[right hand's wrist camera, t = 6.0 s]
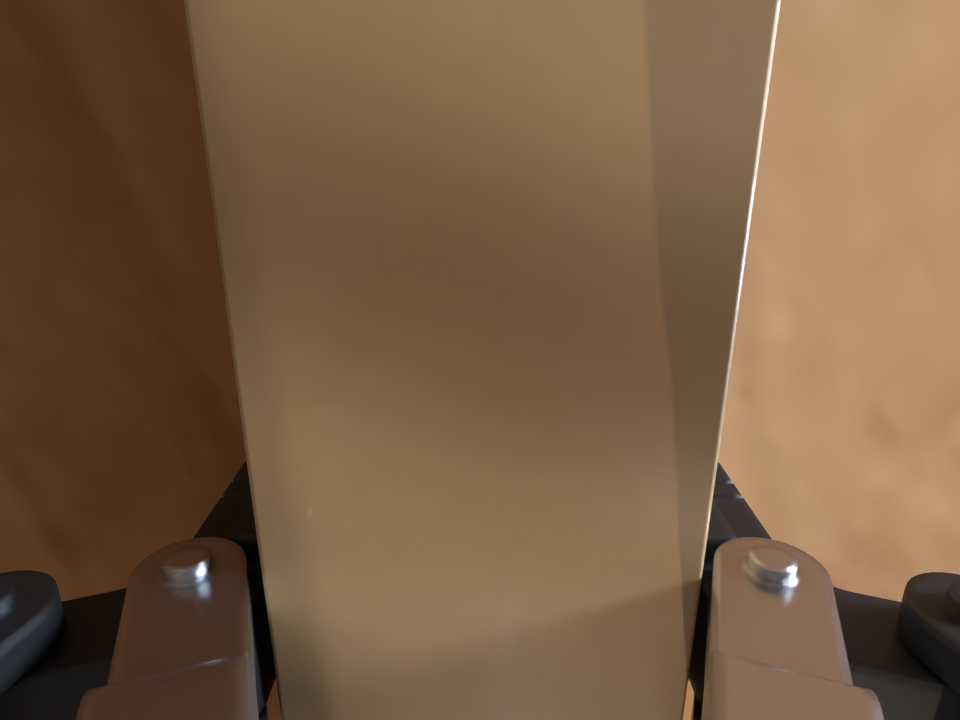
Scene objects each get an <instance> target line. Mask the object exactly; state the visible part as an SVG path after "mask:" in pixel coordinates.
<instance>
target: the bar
mask: <svg viewBox="0 0 960 720" xmlns="http://www.w3.org/2000/svg"><path fill="white" fill-rule="evenodd" d="M183 1H184V8H185V15H186V23H187V30H188V37H189V45H190V52H191V59H192V67H193V74H194V81H195V89H196V96H197V103H198V110H199V118H200V125H201V132H202V140H203V147H204V154H205V162H206V169H207V176H208V183H209V191H210V198H211V205H212V213H213V220H214V227H215V235H216V242H217V249H218V257H219V264H220V271H221V278H222V286H223V293H224V300H225V308H226V315H227V322H228V330H229V337H230V344H231V351H232V359H233V366H234V373H235V381H236V388H237V395H238V403H239V410H240V417H241V425H242V432H243V439H244V446H245V454H246V461H247V468H248V476H249V483H250V490H251V498H252V505H253V512H254V520H255V527H256V534H257V541H258V549H259V556H260V563H261V571H262V578H263V585H264V593H265V600H266V607H267V614H268V622H269V629H270V636H271V644H272V651H273V658H274V666H275V673H276V680H277V688H278V695H279V702H280V709H281V717H282V720H683V712H684V705H685V698H686V690H687V683H688V676H689V668H690V661H691V654H692V646H693V639H694V632H695V624H696V617H697V610H698V602H699V595H700V588H701V580H702V573H703V566H704V558H705V551H706V544H707V536H708V529H709V522H710V514H711V507H712V500H713V493H714V485H715V478H716V471H717V463H718V456H719V449H720V441H721V434H722V427H723V419H724V412H725V405H726V397H727V390H728V383H729V375H730V368H731V361H732V353H733V346H734V339H735V331H736V324H737V317H738V309H739V302H740V295H741V287H742V280H743V273H744V266H745V258H746V251H747V244H748V236H749V229H750V222H751V214H752V207H753V200H754V192H755V185H756V178H757V170H758V163H759V156H760V148H761V141H762V134H763V126H764V119H765V112H766V104H767V97H768V90H769V82H770V75H771V68H772V60H773V53H774V46H775V38H776V31H777V24H778V17H779V9H780V2H781V0H183Z"/></svg>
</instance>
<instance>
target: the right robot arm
mask: <svg viewBox="0 0 960 720" xmlns="http://www.w3.org/2000/svg"><path fill="white" fill-rule="evenodd" d="M275 679H276V673H275V666H274V658H273V651H272V644H271V636H270V629H269V622H268V614H267V607H266V600H265V593H264V585H263V578H262V571H261V563H260V556H259V549H258V541H257V534H256V527H255V520H254V512H253V505H252V498H251V490H250V483H249V476H248V468H247V461H246V462H245V463H244V464H243V466H242V467H241V469H240V470H239V472H238V473H237V475H236V476H235V478H234V479H233V483H231V484H230V485H229V487H228V488H227V489H226V491H225V492H224V496H223V498H220V500H219V501H218V503H217V504H216V506H215V507H214V509H213V510H212V512H211V513H210V515H209V516H208V517H207V519H206V520H205V522H204V523H203V525H202V526H201V528H200V529H199V531H198V532H197V534H196V535H195V537H194V538H193V539H188V540H184V541H180V542H177V543H174V544H171V545H169V546H166V547H164V548H162V549H160V550H158V551H156V552H154V553H153V554H151V555H150V556H148V557H147V558H145V559H144V560H143V561H142V562H141V563H140V564H139V565H138V566H137V567H136V568H135V569H134V571H133V572H132V574H131V575H130V578H129V581H128V585H127V588H124V589H120V590H116V591H112V592H107V593H102V594H97V595H92V596H88V597H83V598H78V599H73V600H68V601H63V602H61V598H60V594H59V591H58V587H57V584H56V581H55V580H54V579H53V578H52V577H51V576H50V575H48V574H46V573H42V572H39V571H30V570H27V571H12V572H6V573H1V574H0V720H269V714H268V707H267V700H268V697H269V695H270V692H271V689H272V686H273V684H274V681H275ZM688 680H690V682H691V685H692V687H693V690H694V700H693V707H692V714H691V720H960V575H957V574H952V573H943V572H931V573H923V574H920V575H917V576H915V577H913V578H911V579H910V580H909V581H908V582H907V585H906V587H905V591H904V595H903V599H902V602H897V601H892V600H887V599H882V598H877V597H872V596H868V595H863V594H858V593H853V592H849V591H845V590H841V589H838V588H835V587H833V585H832V581H831V578H830V575H829V574H828V572H827V571H826V569H825V568H824V567H823V566H822V565H821V564H820V563H819V562H818V561H817V560H816V559H815V558H813V557H812V556H810V555H809V554H807V553H806V552H804V551H802V550H800V549H798V548H796V547H794V546H791V545H789V544H786V543H783V542H780V541H776V540H772V539H771V538H770V536H769V535H768V533H767V532H766V530H765V529H764V527H763V526H762V524H761V523H760V522H759V520H758V519H757V517H756V516H755V514H754V513H753V511H752V510H751V509H750V507H749V506H748V504H747V503H746V501H745V500H744V498H741V494H740V493H739V491H738V490H737V488H736V487H735V485H734V484H731V480H730V478H729V477H728V475H727V474H726V472H725V471H724V469H723V468H722V466H721V465H720V464H719V463H717V471H716V478H715V485H714V493H713V500H712V507H711V514H710V522H709V529H708V536H707V544H706V551H705V558H704V566H703V573H702V580H701V588H700V595H699V602H698V610H697V617H696V624H695V632H694V639H693V646H692V654H691V661H690V668H689V676H688Z"/></svg>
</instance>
